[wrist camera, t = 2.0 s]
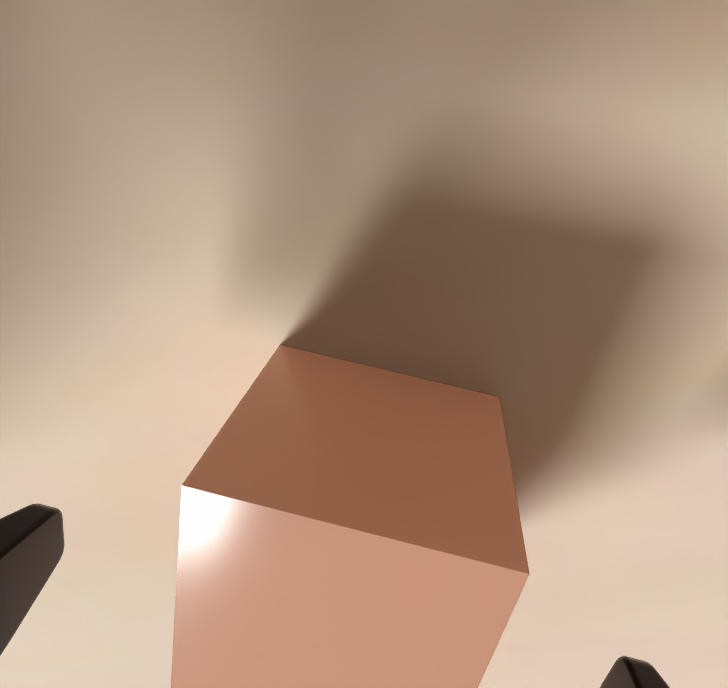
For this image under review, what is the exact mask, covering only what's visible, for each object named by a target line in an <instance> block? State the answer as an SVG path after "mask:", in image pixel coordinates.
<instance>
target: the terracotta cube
mask: <svg viewBox="0 0 728 688" xmlns="http://www.w3.org/2000/svg"><path fill="white" fill-rule="evenodd" d="M528 576H529V569H528V563H527V557H526V551H525V545H524V539H523V533H522V528H521V522H520V516H519V510H518V504H517V498H516V492H515V486H514V480H513V475H512V469H511V463H510V457H509V451H508V445H507V439H506V433H505V427H504V422H503V416H502V410H501V404H500V398H499V397H497V396H493V395H489V394H484V393H480V392H476V391H472V390H468V389H463V388H459V387H455V386H451V385H447V384H442V383H438V382H434V381H430V380H426V379H421V378H417V377H413V376H409V375H405V374H401V373H396V372H392V371H388V370H384V369H380V368H375V367H371V366H367V365H363V364H359V363H354V362H350V361H346V360H342V359H338V358H333V357H329V356H325V355H321V354H317V353H312V352H308V351H304V350H300V349H296V348H291V347H287V346H283V345H279V347H278V348H277V350H276V351H275V353H274V354H273V355H272V357H271V358H270V360H269V361H268V363H267V364H266V366H265V367H264V368H263V370H262V371H261V373H260V374H259V376H258V377H257V378H256V380H255V381H254V383H253V384H252V386H251V387H250V388H249V390H248V391H247V393H246V394H245V396H244V397H243V398H242V400H241V401H240V403H239V404H238V406H237V407H236V408H235V410H234V411H233V413H232V414H231V416H230V417H229V418H228V420H227V421H226V423H225V424H224V426H223V427H222V428H221V430H220V431H219V433H218V434H217V436H216V437H215V438H214V440H213V441H212V443H211V444H210V446H209V447H208V448H207V450H206V451H205V453H204V454H203V456H202V457H201V459H200V460H199V461H198V463H197V464H196V466H195V467H194V469H193V470H192V471H191V473H190V474H189V476H188V477H187V479H186V480H185V481H184V483H183V484H182V489H181V507H180V526H179V544H178V563H177V581H176V600H175V619H174V637H173V656H172V674H171V688H478V686H479V684H480V682H481V680H482V677H483V675H484V673H485V671H486V669H487V666H488V664H489V662H490V660H491V658H492V655H493V653H494V651H495V649H496V647H497V644H498V642H499V640H500V638H501V636H502V633H503V631H504V629H505V627H506V625H507V622H508V620H509V618H510V616H511V614H512V611H513V609H514V607H515V605H516V603H517V600H518V598H519V596H520V594H521V591H522V589H523V587H524V585H525V583H526V580H527V578H528Z"/></svg>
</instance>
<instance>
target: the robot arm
mask: <svg viewBox="0 0 728 688" xmlns="http://www.w3.org/2000/svg"><path fill="white" fill-rule="evenodd" d="M63 550H64V533H63V519H62V513H61V511H60V510H59V509H57V508H54V507H50V506H46V505H42V504H32V505H29V506H27V507H25V508H22V509H20V510H18V511H16V512H14V513H12V514H9V515H7V516H5V517H3V518H1V519H0V655H1V654H2V652H3V651H4V649H5V648H6V646H7V645H8V643H9V642H10V640H11V639H12V637H13V635H14V634H15V632H16V630H17V629H18V627H19V626H20V624H21V622H22V621H23V619H24V617H25V616H26V614H27V613H28V611H29V609H30V608H31V606H32V604H33V603H34V601H35V600H36V598H37V596H38V595H39V593H40V591H41V590H42V588H43V587H44V585H45V583H46V582H47V580H48V578H49V577H50V575H51V574H52V572H53V570H54V569H55V567H56V566H57V564H58V562H59V560H60V558H61V556H62V554H63ZM600 688H670V687H669V686H668V685H667V684H666V682H665V681H664V680H663V678H662V677H661V676H660V675H659V673H658V672H657V671H656V670H655V668H654V667H653V666H652V665H650V664H649V663H648V662H645V661H642V660H639V659H635V658H631V657H627V656H622V657H620V658H618V659H617V660H616V662H615V664H614V665H613V667H612V668H611V670H610V672H609V673H608V675H607V677H606V678H605V680H604V681H603V683H602V685H601V687H600Z"/></svg>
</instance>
